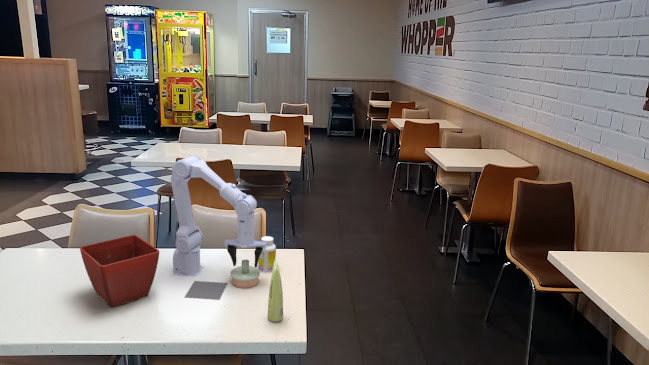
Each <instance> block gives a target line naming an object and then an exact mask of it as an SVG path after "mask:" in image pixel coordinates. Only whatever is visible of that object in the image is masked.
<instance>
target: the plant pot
mask: <svg viewBox="0 0 649 365" xmlns="http://www.w3.org/2000/svg"><path fill="white" fill-rule="evenodd" d="M79 252H80V255H81V258H82V262H83V264H84V268H85V271H86V274H87V276H88V278H89V281H90V282H91V286H92V287H93V289H94V292H95V293H96V295H97V296H99V297H100V299H102V301H103V302H104V303H105V304H106V305H107V306H108V307H110V308H114V307H117V306H121V305H123V304H127V303H131V302H134V301H136V300H137V301H138V300H139V299H142V298H144V297H147V296H148V295H149V294H150V292H151V288H152V285H153V283H154V280H155V277H156V272H157V269H158V264H159V257H160V250H159V249H158V248H156V247H154V246H153V245H152V244H151V243H148V241H146V240H145V239H143V238H141V237H140V236H138V235H137V234H131V235H127V236H123V237H118V238H114V239H108V240H105V241H100V242H95V243H92V244H87V245H86V244H85V245H82V246H80V247H79Z"/></svg>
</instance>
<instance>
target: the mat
mask: <svg viewBox="0 0 649 365" xmlns="http://www.w3.org/2000/svg"><path fill="white" fill-rule="evenodd" d="M193 281H194V282H193V283H192V285H190V288H189V289H188V291H187V292H186V294H185V295H184V298H187V299H202V300H213V301H214V300H215V301H218V300H219V301H220V300H221V298H222V296H223V293H224V291H225V289H226V287H227V285H228V282H218V281H217V282H215V281H204V280H203V281H202V280H193Z"/></svg>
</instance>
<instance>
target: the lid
mask: <svg viewBox="0 0 649 365" xmlns="http://www.w3.org/2000/svg"><path fill="white" fill-rule="evenodd" d="M260 275H261V271H260V270H259V268H257V267H255V266H253V265H251V266H250V260H249V259H242V260H241V266H237V267H236V266H235V267H234V268H232V270H230V277H231V279H232V278H233V279H235V280H239V281H250V280H254V279H256V278H258V277H260Z"/></svg>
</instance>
